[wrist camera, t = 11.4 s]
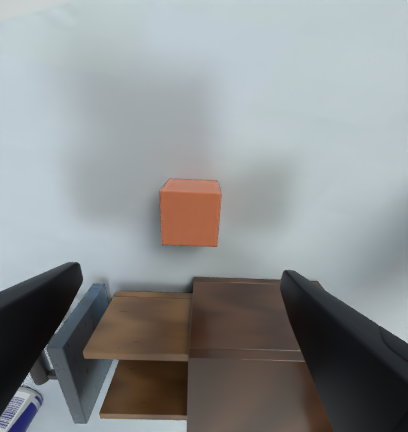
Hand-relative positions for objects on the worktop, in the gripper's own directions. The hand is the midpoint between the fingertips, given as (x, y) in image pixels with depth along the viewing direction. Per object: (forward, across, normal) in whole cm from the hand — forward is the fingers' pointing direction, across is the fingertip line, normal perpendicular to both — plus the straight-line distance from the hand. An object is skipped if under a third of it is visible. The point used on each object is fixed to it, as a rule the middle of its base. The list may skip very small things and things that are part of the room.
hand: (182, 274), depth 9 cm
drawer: (+9, +6, +14) cm, 18 cm away
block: (+10, 0, 0) cm, 10 cm away
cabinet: (+10, -7, +14) cm, 19 cm away
